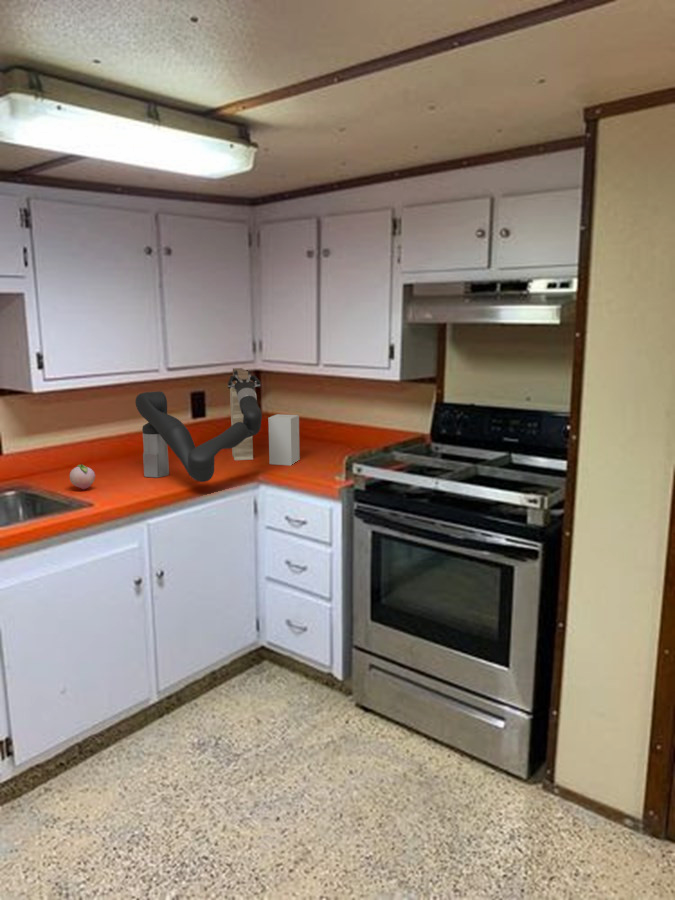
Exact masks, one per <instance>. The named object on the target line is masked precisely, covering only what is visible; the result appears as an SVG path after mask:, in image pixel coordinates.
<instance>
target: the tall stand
mask: <svg viewBox="0 0 675 900" xmlns="http://www.w3.org/2000/svg"><path fill="white" fill-rule="evenodd" d="M233 384H234V385H235V384H236V383H233ZM229 396H230V397H229V398H230V420H231V421H230V422H231V424H230V425H231V426H232V425H233V424H235V423H237V422H242V423H243V414H242V412H241V409H240V404H239V402H238V398H237V393H236V390H235V389H234V388H233V387H231V388H230V389H229ZM231 426H230V427H231ZM231 451H232V452H231V453H232V454H231V455H232V458H233V459H234V461H247V460H254V446H253V436H251V437H248V438H246V439H244V440H243V441H242V442H241V443H240V444H239V445H237V446H236V447H233V448H231Z"/></svg>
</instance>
